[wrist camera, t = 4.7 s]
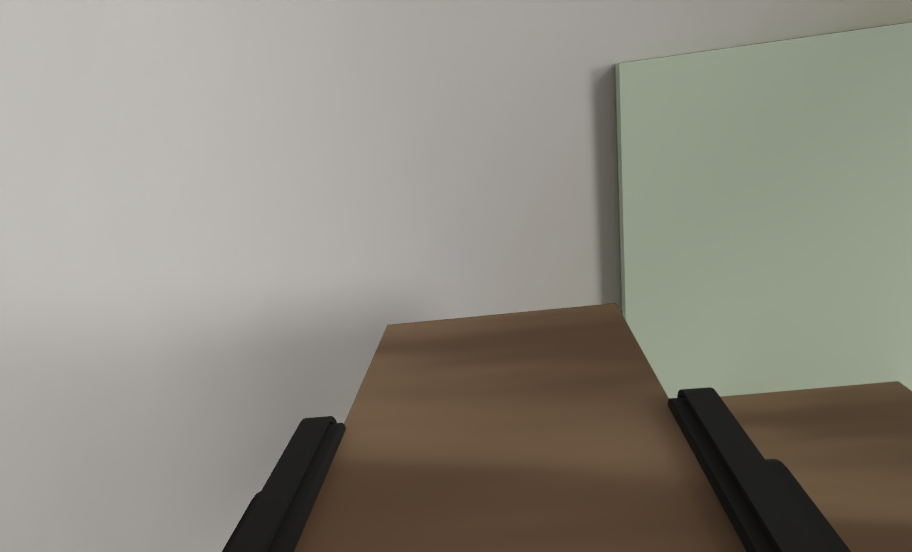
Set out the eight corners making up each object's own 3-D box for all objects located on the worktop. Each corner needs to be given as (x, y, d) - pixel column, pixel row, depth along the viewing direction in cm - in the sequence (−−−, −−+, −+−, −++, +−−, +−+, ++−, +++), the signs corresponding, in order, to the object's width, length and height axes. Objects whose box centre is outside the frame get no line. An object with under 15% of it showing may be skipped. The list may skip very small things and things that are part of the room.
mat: (874, 817, 28) (880, 830, 27) (636, 822, 29) (638, 835, 28) (1066, 0, 14) (1086, -2, 14) (615, 64, 15) (619, 63, 15)
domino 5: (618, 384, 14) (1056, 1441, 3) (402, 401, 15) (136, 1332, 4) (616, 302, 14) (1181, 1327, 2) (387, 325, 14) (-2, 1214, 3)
